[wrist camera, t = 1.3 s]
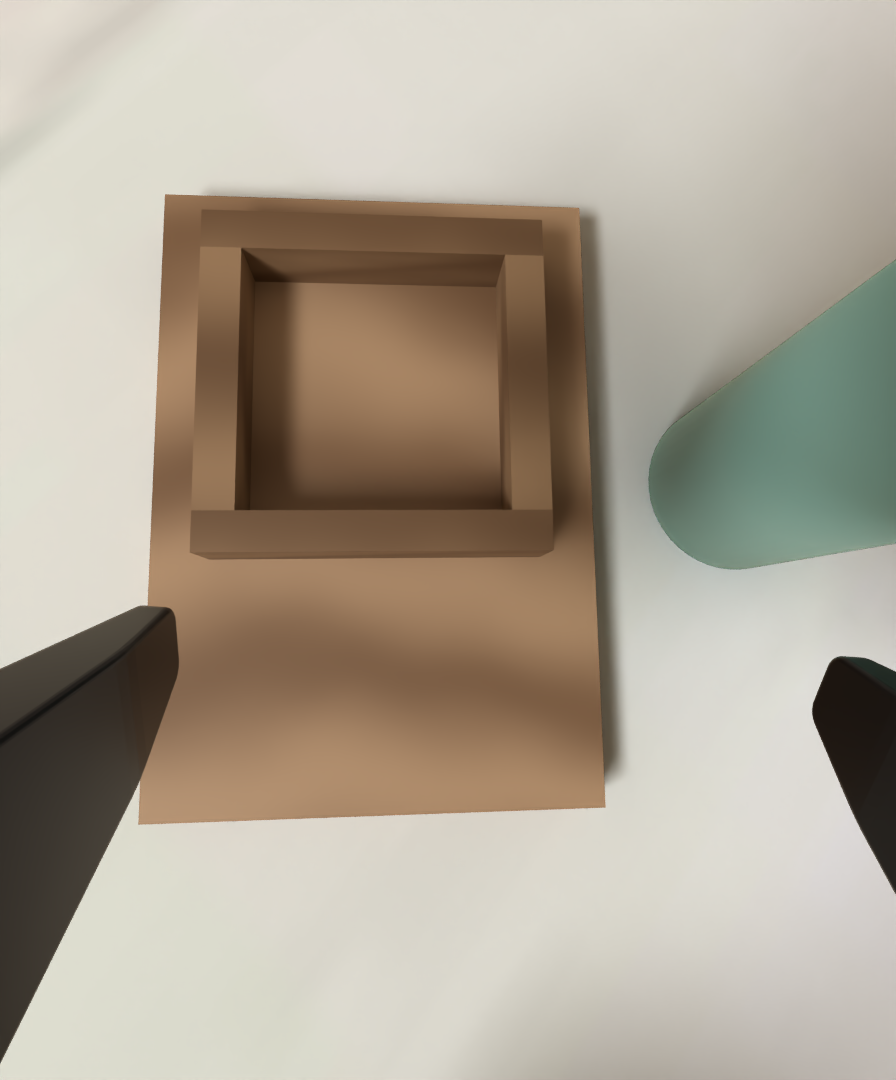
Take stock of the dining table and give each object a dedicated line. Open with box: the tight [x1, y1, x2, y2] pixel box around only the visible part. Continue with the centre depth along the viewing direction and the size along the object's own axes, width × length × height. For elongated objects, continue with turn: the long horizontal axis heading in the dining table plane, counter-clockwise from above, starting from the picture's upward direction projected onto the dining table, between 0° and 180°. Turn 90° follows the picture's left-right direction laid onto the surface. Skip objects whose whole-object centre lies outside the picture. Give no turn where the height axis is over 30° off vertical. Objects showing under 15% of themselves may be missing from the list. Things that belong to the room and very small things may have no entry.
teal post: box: [649, 260, 896, 569], centre depth 17 cm, size 6×6×14 cm
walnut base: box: [138, 194, 605, 825], centre depth 21 cm, size 20×14×4 cm
